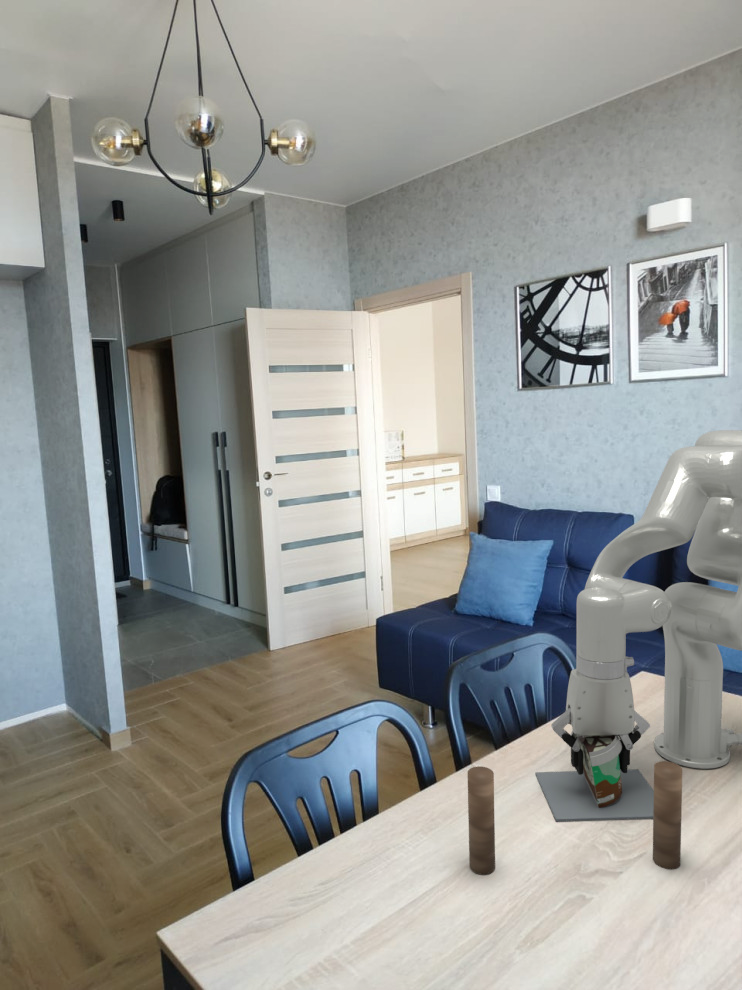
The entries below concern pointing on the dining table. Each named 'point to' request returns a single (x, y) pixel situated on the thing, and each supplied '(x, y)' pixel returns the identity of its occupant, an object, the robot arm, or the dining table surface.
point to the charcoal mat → (578, 804)
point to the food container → (602, 768)
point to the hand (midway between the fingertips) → (600, 768)
